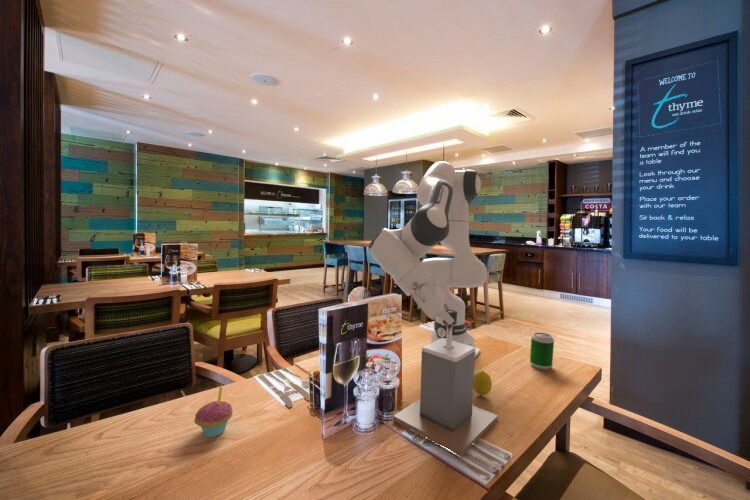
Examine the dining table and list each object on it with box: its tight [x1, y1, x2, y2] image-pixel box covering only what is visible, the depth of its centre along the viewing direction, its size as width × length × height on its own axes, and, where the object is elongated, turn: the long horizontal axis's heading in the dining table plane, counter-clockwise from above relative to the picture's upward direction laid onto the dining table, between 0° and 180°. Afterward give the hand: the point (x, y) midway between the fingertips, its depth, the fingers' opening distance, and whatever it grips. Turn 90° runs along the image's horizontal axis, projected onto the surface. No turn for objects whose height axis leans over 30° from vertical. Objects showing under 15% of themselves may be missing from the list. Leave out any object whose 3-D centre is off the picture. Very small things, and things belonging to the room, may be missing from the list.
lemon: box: [473, 370, 493, 397], centre depth 104 cm, size 6×6×8 cm
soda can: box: [529, 332, 555, 371], centre depth 126 cm, size 8×8×12 cm
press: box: [392, 338, 499, 458], centre depth 91 cm, size 20×20×20 cm
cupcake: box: [194, 383, 233, 438], centre depth 85 cm, size 9×8×12 cm
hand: (452, 319), depth 89 cm, fingers closed on plunger, 4 cm apart
